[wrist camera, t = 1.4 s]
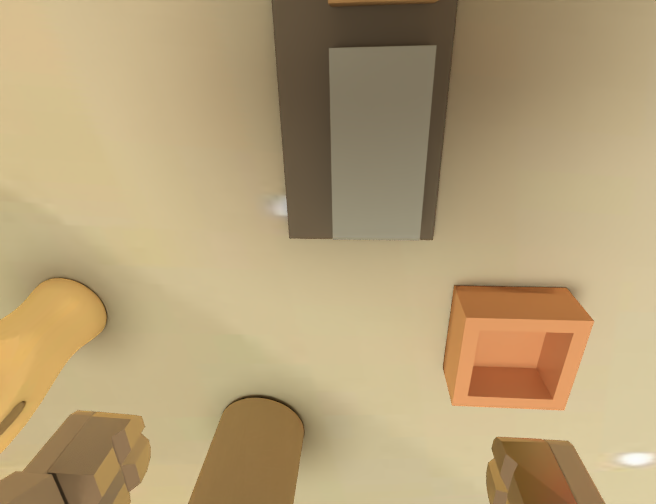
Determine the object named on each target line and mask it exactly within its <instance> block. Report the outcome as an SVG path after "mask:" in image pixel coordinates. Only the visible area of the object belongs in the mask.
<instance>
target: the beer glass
mask: <svg viewBox="0 0 656 504" xmlns="http://www.w3.org/2000/svg"><path fill="white" fill-rule="evenodd" d="M106 321H107V315H106V310H105V308H104V305H103V303H102V302H101V300H100V299H99V298H98V296H97V295H96V294H95V293H94V292H93V291H91V290H90V289H89V288H87V287H86V286H84V285H83V284H81V283H78V282H76V281H73V280H70V279H65V278H52V279H48V280H46V281H44V282H42V283H41V284H39V285H38V286H37V287H36V288H35V289H34V290H33V291H32V292H31V294H30V295H29V296H28V297H27V298H26V300H25V301H24V302H23V303H22V304H21V305H20V306H19V307H18V308H16V309H15V310H14V311H13V312H11V313H10V314H8V315H7V316H5V317H4V318H2V319H0V454H1V453H2V451H3V450H4V449H5V448H6V447H7V446H8V445H9V444H10V443H11V442H12V441H13V439H14V438H15V437H16V436H17V435H18V433H19V432H20V431H21V430H22V429H23V427H24V426H25V425H26V424H27V422H28V421H29V419H30V418H31V417H32V415H33V414H34V412H35V411H36V409H37V408H38V407H39V405H40V404H41V402H42V400H43V399H44V397H45V396H46V394H47V393H48V391H49V389H50V388H51V386H52V384H53V383H54V381H55V380H56V378H57V376H58V375H59V373H60V372H61V370H62V369H63V367H64V366H65V364H66V363H67V362H68V360H69V359H70V358H71V357H72V355H73V354H74V353H76V352H77V351H78V350H79V349H80V348H81V347H82V346H84V345H85V344H87V343H88V342H89V341H91V340H92V339H94V338H95V337H96V336H97V335H99V334H100V333H101V332H102V330H103V329H104V327H105V325H106Z"/></svg>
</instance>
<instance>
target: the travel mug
mask: <svg viewBox="0 0 656 504" xmlns="http://www.w3.org/2000/svg"><path fill="white" fill-rule="evenodd" d="M303 436H304V428H303V424H302V422H301V420H300V418H299V417H298V416H297V415H296V414H295V413H294V412H293V411H292V410H291V409H290V408H288V407H287V406H285V405H283V404H281V403H279V402H276V401H273V400H270V399H265V398H246V399H242V400H239V401H236V402H234V403H232V404H231V405H229V406H228V407H227V408H226V409H225V410H224V412H223V414H222V416H221V419H220V421H219V424H218V427H217V429H216V432H215V435H214V437H213V440H212V442H211V445H210V448H209V450H208V453H207V456H206V458H205V461H204V463H203V466H202V469H201V471H200V474H199V477H198V479H197V482H196V484H195V487H194V490H193V492H192V495H191V498H190V500H189V503H188V504H293V502H294V495H295V489H296V482H297V476H298V469H299V463H300V456H301V449H302V443H303Z"/></svg>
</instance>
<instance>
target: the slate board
mask: <svg viewBox="0 0 656 504" xmlns="http://www.w3.org/2000/svg"><path fill="white" fill-rule="evenodd" d="M436 46H437V45H418V46H380V47H341V48H329V77H330V126H331V175H332V224H333V239H340V240H420V230H421V219H422V207H423V196H424V184H425V173H426V161H427V150H428V138H429V126H430V115H431V103H432V92H433V80H434V69H435V57H436Z"/></svg>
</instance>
